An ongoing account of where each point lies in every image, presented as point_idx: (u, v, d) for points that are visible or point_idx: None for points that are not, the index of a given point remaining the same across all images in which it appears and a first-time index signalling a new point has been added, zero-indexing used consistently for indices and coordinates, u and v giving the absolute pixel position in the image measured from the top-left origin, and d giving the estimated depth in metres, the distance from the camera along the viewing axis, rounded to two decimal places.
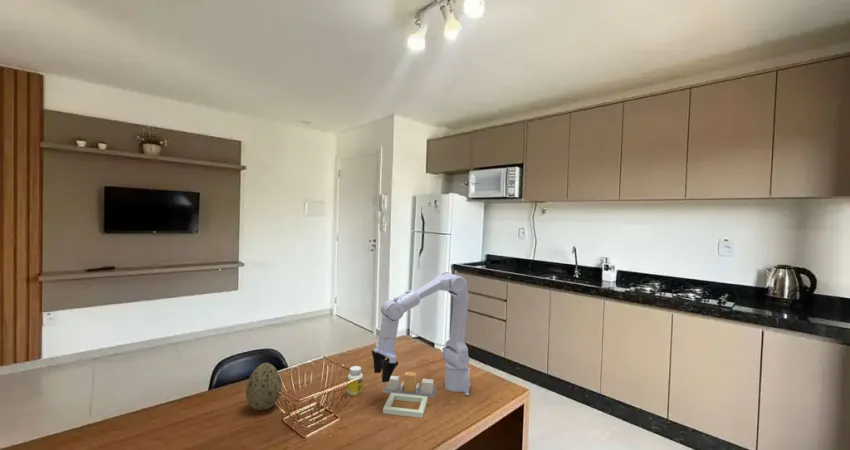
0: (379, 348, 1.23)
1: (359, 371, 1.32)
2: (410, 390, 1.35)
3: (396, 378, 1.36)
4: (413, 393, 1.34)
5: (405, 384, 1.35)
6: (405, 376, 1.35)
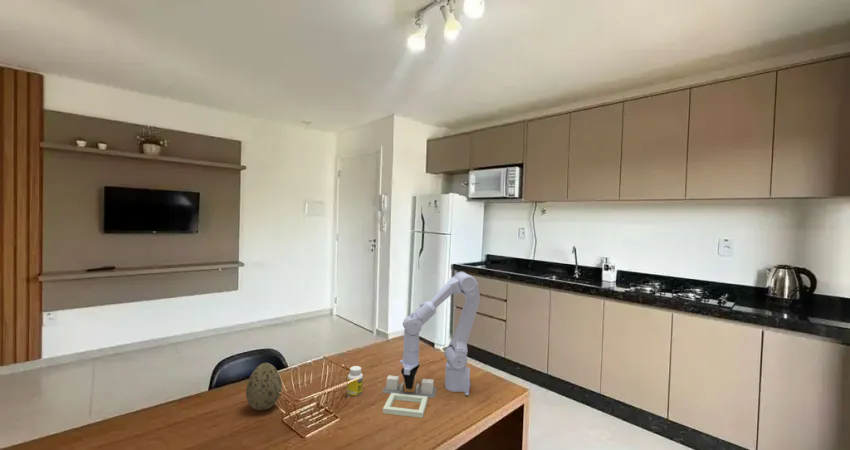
0: (403, 359, 1.36)
1: (359, 371, 1.32)
2: (410, 390, 1.35)
3: (396, 378, 1.36)
4: (413, 393, 1.34)
5: None
6: None
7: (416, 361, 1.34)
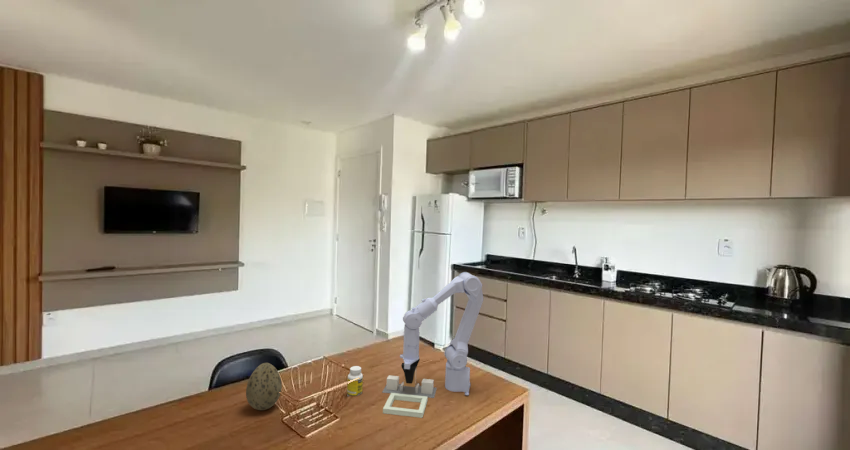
0: (403, 354, 1.36)
1: (359, 371, 1.32)
2: (410, 385, 1.35)
3: (396, 378, 1.36)
4: (413, 393, 1.34)
5: (405, 379, 1.35)
6: None
7: (416, 356, 1.34)
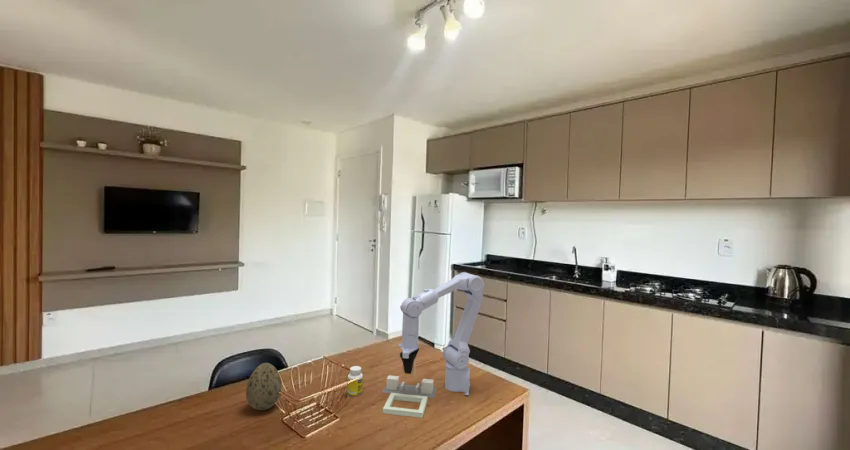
0: (402, 343, 1.31)
1: (359, 371, 1.32)
2: (409, 375, 1.30)
3: (396, 378, 1.36)
4: (413, 393, 1.34)
5: None
6: None
7: (415, 345, 1.29)
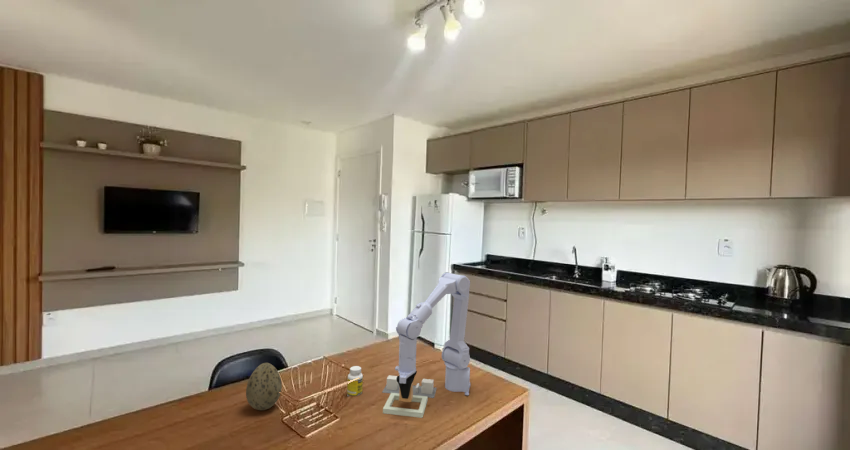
0: (398, 366, 1.23)
1: (359, 371, 1.32)
2: (406, 400, 1.23)
3: (396, 378, 1.36)
4: (413, 393, 1.34)
5: None
6: None
7: (413, 368, 1.22)
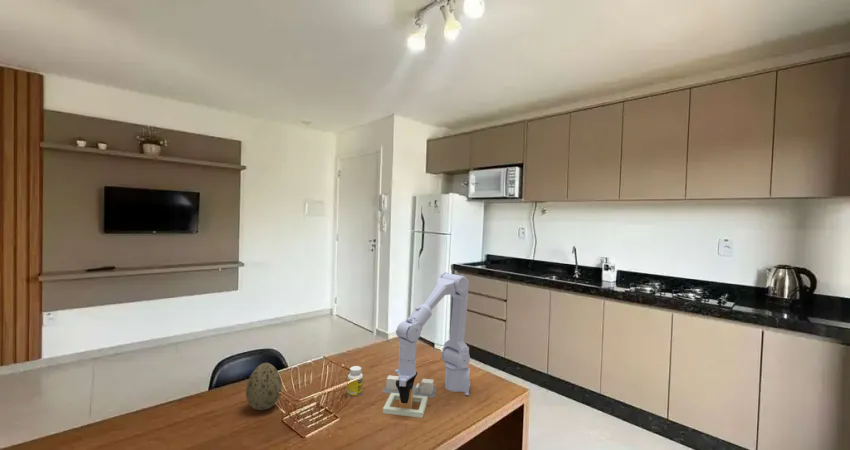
0: (398, 369, 1.24)
1: (359, 371, 1.32)
2: (406, 408, 1.23)
3: (396, 378, 1.36)
4: (413, 393, 1.34)
5: (400, 402, 1.23)
6: None
7: (413, 371, 1.22)
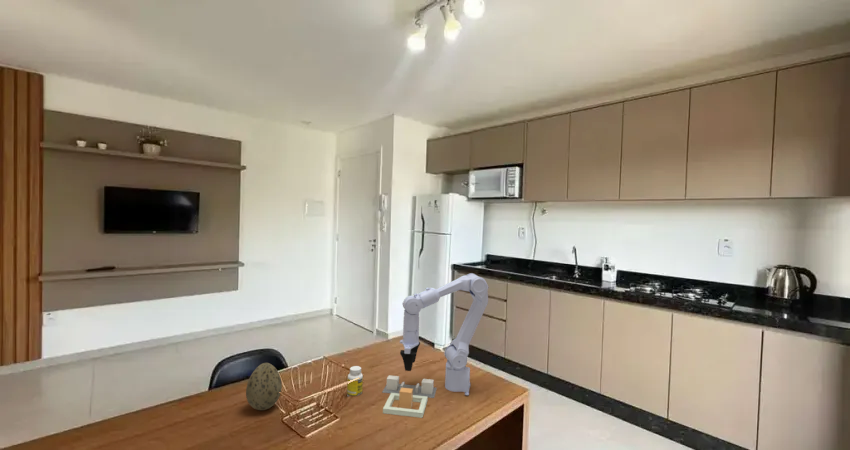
0: (403, 339, 1.35)
1: (359, 371, 1.32)
2: (406, 408, 1.23)
3: (396, 378, 1.36)
4: (413, 393, 1.34)
5: (400, 402, 1.23)
6: (400, 393, 1.23)
7: (416, 341, 1.34)
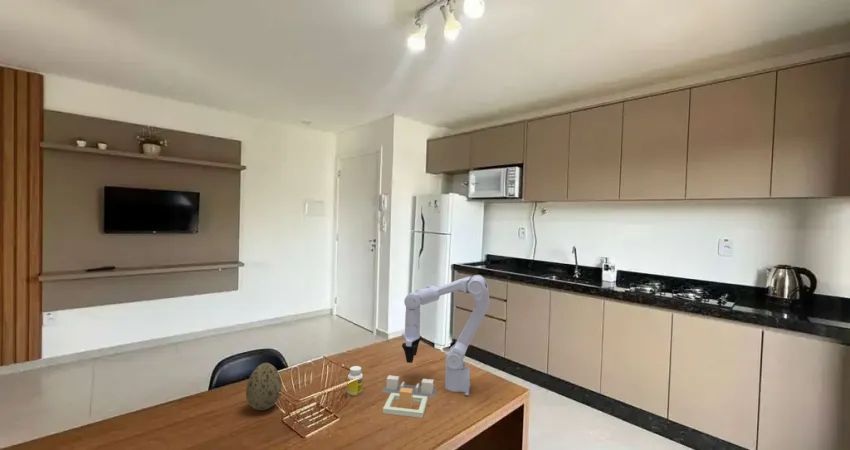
0: (405, 333, 1.42)
1: (359, 371, 1.32)
2: (406, 408, 1.23)
3: (396, 378, 1.36)
4: (413, 393, 1.34)
5: (400, 402, 1.23)
6: (400, 393, 1.23)
7: (417, 334, 1.41)
